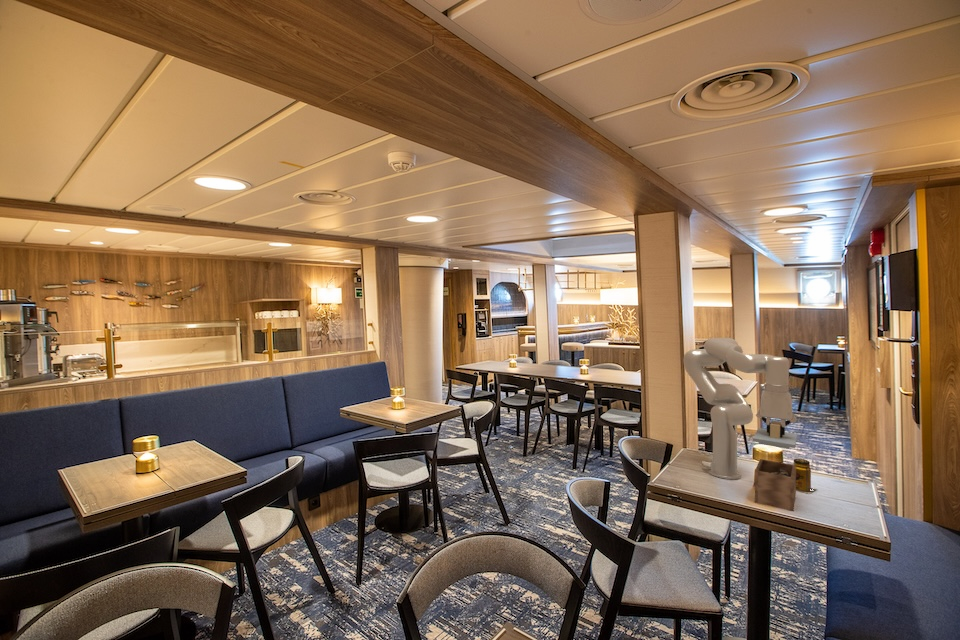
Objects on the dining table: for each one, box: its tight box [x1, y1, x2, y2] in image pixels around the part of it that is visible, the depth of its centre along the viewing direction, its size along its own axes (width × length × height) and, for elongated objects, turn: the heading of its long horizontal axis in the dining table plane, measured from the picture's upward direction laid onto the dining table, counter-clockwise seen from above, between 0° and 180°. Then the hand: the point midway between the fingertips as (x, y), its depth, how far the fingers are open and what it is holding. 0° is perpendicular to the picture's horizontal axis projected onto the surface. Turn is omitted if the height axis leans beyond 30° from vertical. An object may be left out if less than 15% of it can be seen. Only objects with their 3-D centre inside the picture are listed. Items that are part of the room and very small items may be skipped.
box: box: [754, 458, 797, 512], centre depth 167 cm, size 12×18×12 cm, turn 142°
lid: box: [752, 420, 798, 450], centre depth 167 cm, size 13×19×7 cm
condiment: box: [793, 458, 818, 495], centre depth 177 cm, size 7×8×12 cm
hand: (775, 435), depth 167 cm, fingers closed on lid, 3 cm apart
